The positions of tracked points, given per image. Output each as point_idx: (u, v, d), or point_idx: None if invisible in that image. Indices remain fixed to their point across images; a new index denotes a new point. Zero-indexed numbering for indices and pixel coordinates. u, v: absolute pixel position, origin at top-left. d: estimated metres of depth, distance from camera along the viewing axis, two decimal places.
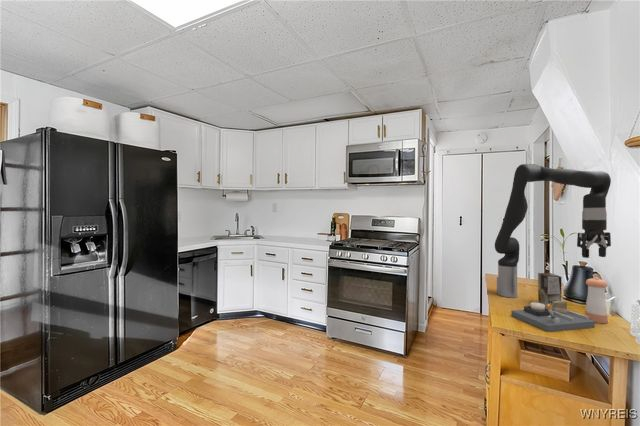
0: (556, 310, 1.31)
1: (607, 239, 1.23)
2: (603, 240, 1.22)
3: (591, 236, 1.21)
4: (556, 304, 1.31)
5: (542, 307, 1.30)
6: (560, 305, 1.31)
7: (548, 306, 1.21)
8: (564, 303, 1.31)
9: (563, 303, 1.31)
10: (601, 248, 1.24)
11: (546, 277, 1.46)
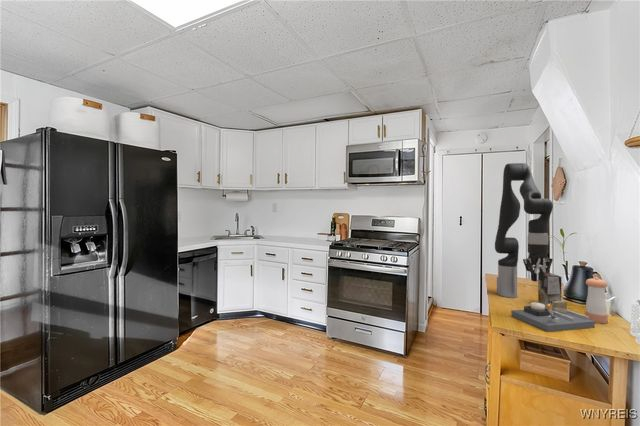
0: (556, 310, 1.31)
1: (548, 264, 1.32)
2: (544, 264, 1.31)
3: (535, 261, 1.30)
4: (556, 304, 1.31)
5: (542, 307, 1.30)
6: (560, 305, 1.31)
7: (548, 306, 1.21)
8: (564, 303, 1.31)
9: (563, 303, 1.31)
10: (540, 272, 1.32)
11: (546, 277, 1.46)
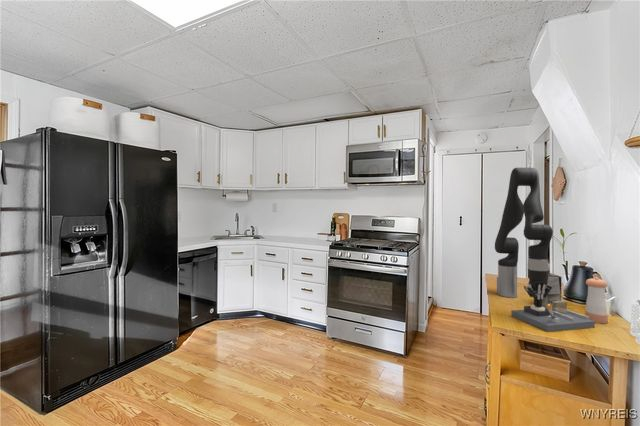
0: (556, 310, 1.31)
1: (546, 290, 1.32)
2: (543, 290, 1.31)
3: (535, 287, 1.31)
4: (556, 304, 1.31)
5: (542, 310, 1.30)
6: (560, 305, 1.31)
7: (548, 306, 1.21)
8: (564, 303, 1.31)
9: (563, 303, 1.31)
10: None
11: None
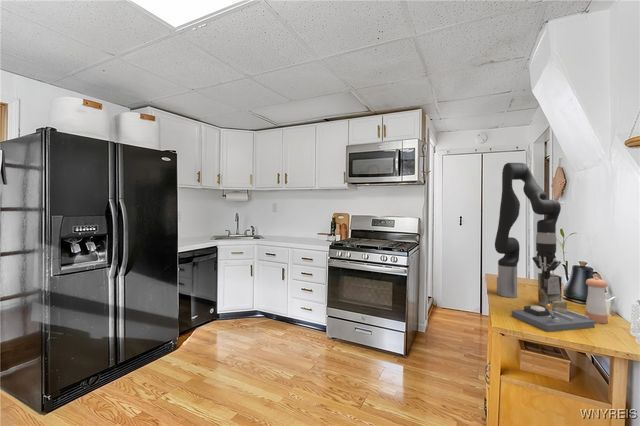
0: (556, 310, 1.31)
1: None
2: (544, 262, 1.36)
3: (539, 258, 1.40)
4: (556, 304, 1.31)
5: (542, 310, 1.30)
6: (560, 305, 1.31)
7: (548, 306, 1.21)
8: (564, 303, 1.31)
9: (563, 303, 1.31)
10: None
11: None
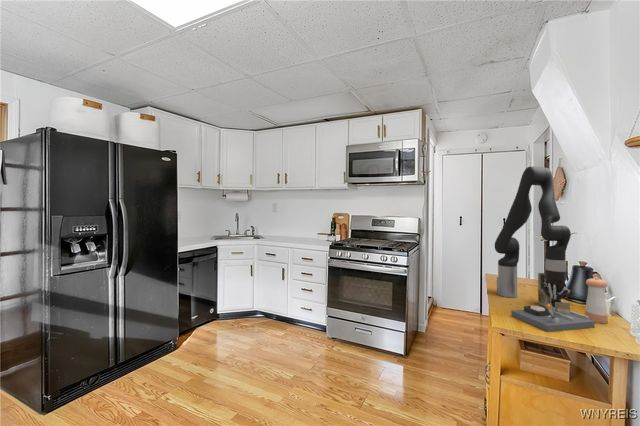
0: (559, 311, 1.30)
1: None
2: (554, 290, 1.32)
3: None
4: (559, 305, 1.30)
5: (542, 310, 1.30)
6: (562, 306, 1.30)
7: (548, 306, 1.21)
8: (567, 304, 1.30)
9: (566, 304, 1.30)
10: None
11: None
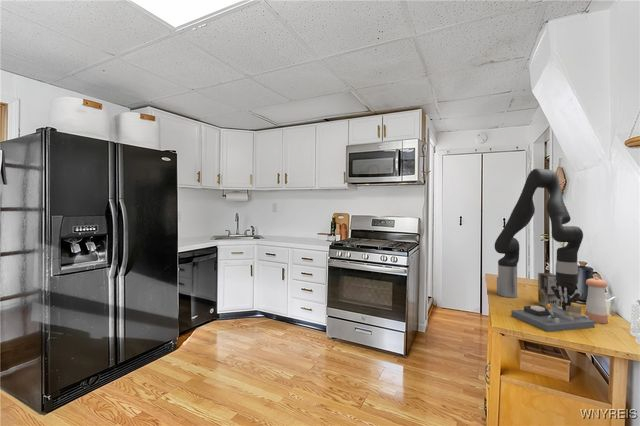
0: (570, 315, 1.25)
1: None
2: (565, 293, 1.28)
3: (559, 288, 1.31)
4: (570, 309, 1.25)
5: (542, 310, 1.30)
6: (574, 310, 1.25)
7: (548, 306, 1.21)
8: (578, 307, 1.26)
9: (577, 307, 1.25)
10: None
11: (546, 277, 1.46)
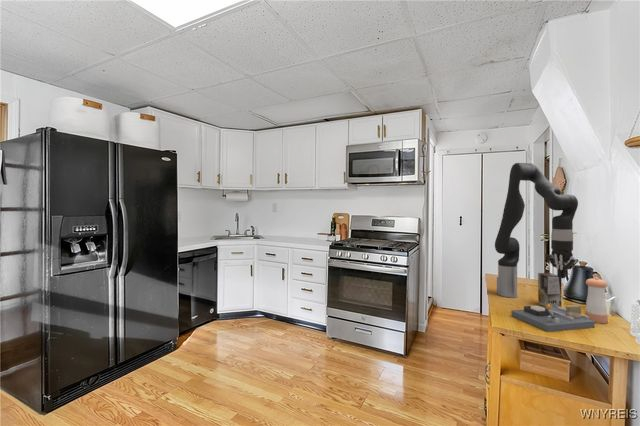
0: (570, 315, 1.25)
1: None
2: (560, 260, 1.29)
3: (554, 257, 1.33)
4: (570, 309, 1.25)
5: (542, 310, 1.30)
6: (574, 310, 1.25)
7: (548, 306, 1.21)
8: (578, 307, 1.26)
9: (577, 307, 1.25)
10: None
11: (546, 277, 1.46)
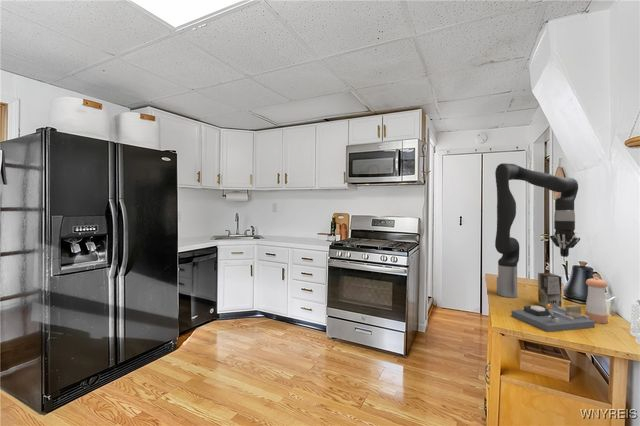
0: (570, 315, 1.25)
1: None
2: (563, 240, 1.37)
3: (557, 237, 1.40)
4: (570, 309, 1.25)
5: (542, 310, 1.30)
6: (574, 310, 1.25)
7: (548, 306, 1.21)
8: (578, 307, 1.26)
9: (577, 307, 1.25)
10: None
11: (546, 277, 1.46)
